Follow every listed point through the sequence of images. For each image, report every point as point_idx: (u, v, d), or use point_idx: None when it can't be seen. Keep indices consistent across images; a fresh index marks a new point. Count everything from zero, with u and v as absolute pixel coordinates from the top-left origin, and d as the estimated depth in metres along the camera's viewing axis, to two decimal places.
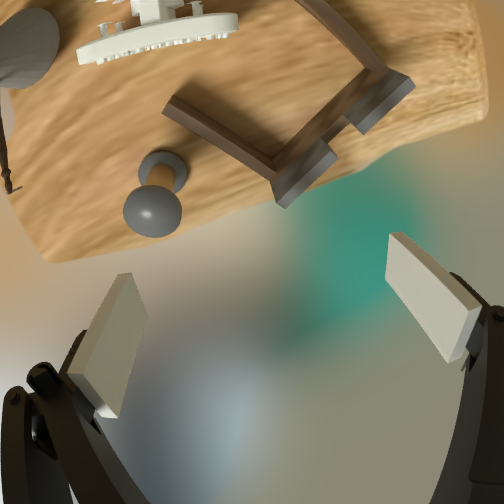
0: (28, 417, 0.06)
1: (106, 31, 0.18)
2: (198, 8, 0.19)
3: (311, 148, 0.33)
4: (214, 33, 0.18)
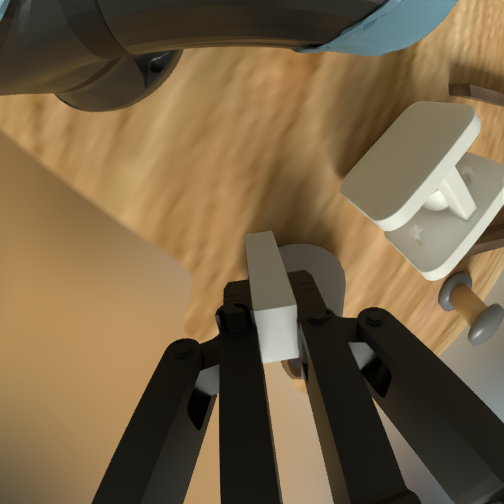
0: (193, 380, 0.08)
1: (421, 237, 0.25)
2: (473, 173, 0.22)
3: None
4: None
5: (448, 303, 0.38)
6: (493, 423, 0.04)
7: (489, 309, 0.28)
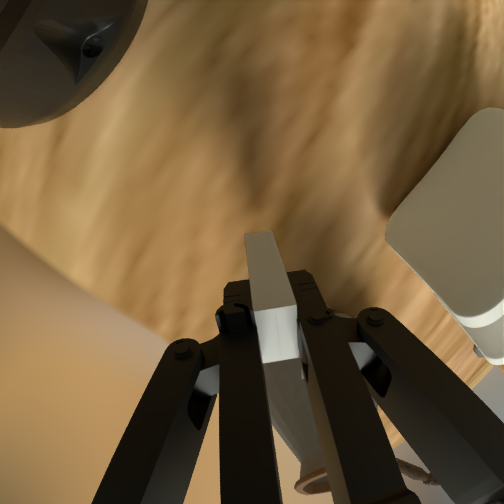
0: (193, 380, 0.08)
1: None
2: None
3: None
4: None
5: None
6: (493, 423, 0.04)
7: None
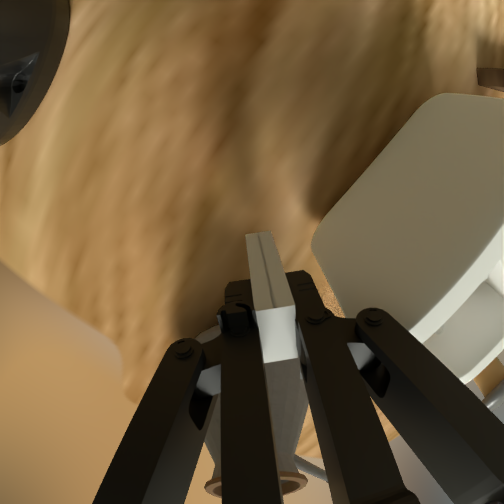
0: (194, 380, 0.08)
1: None
2: None
3: None
4: None
5: None
6: (492, 423, 0.04)
7: None
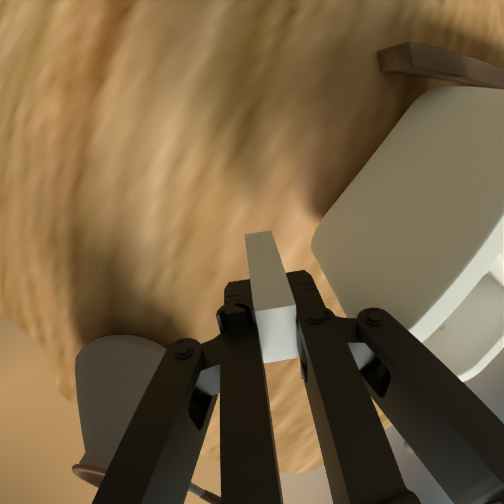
0: (194, 380, 0.08)
1: None
2: None
3: None
4: None
5: None
6: (492, 423, 0.04)
7: None
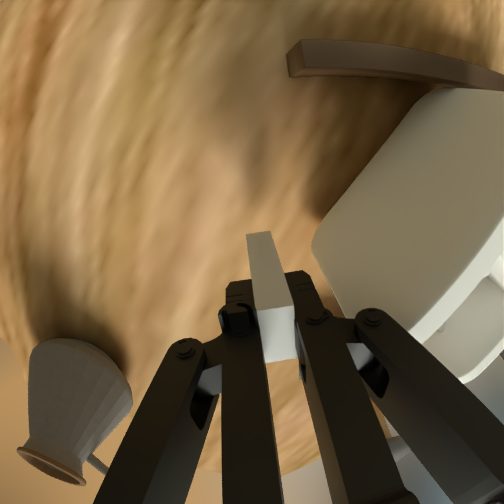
0: (196, 380, 0.08)
1: None
2: None
3: None
4: None
5: None
6: (491, 423, 0.04)
7: None
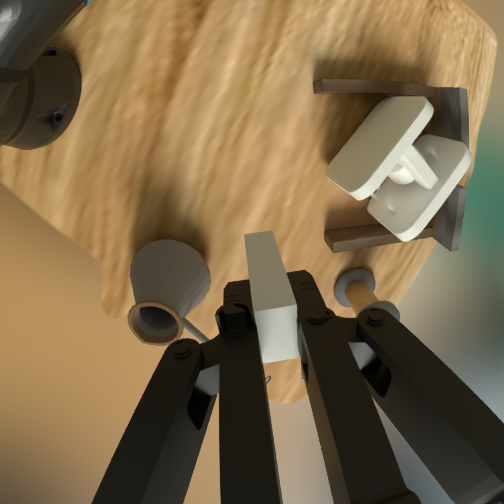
0: (193, 380, 0.08)
1: (394, 206, 0.31)
2: (436, 152, 0.28)
3: None
4: (468, 166, 0.26)
5: (346, 299, 0.45)
6: (493, 423, 0.04)
7: (372, 306, 0.35)
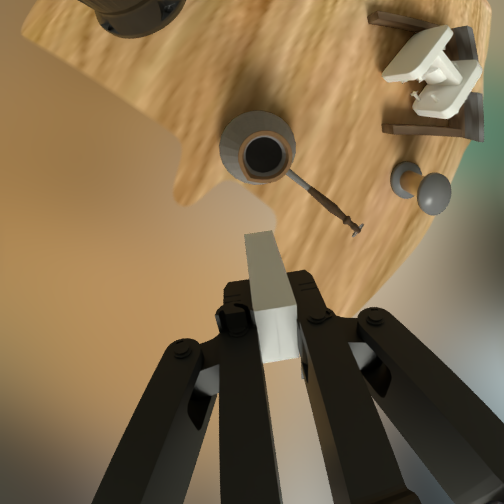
0: (193, 380, 0.08)
1: (436, 97, 0.34)
2: (457, 65, 0.31)
3: (465, 100, 0.35)
4: None
5: (401, 189, 0.47)
6: (493, 423, 0.04)
7: (430, 174, 0.38)
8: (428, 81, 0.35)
